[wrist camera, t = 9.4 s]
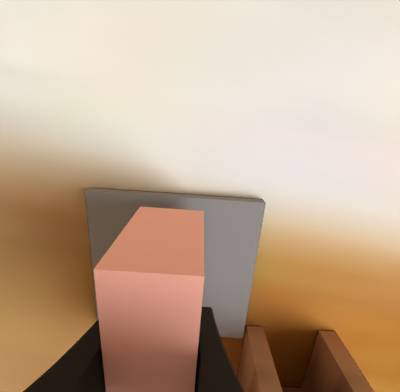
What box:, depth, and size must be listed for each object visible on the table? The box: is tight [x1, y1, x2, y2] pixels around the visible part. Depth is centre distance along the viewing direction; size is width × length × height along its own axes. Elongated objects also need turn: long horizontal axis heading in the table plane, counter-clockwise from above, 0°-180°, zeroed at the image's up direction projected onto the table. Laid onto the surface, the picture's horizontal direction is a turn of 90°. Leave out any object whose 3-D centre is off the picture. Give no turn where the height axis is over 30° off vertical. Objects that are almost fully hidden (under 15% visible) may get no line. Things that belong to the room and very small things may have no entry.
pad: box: [85, 188, 265, 339], centre depth 14 cm, size 10×10×1 cm
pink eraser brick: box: [94, 207, 204, 392], centre depth 10 cm, size 10×3×5 cm, turn 176°
